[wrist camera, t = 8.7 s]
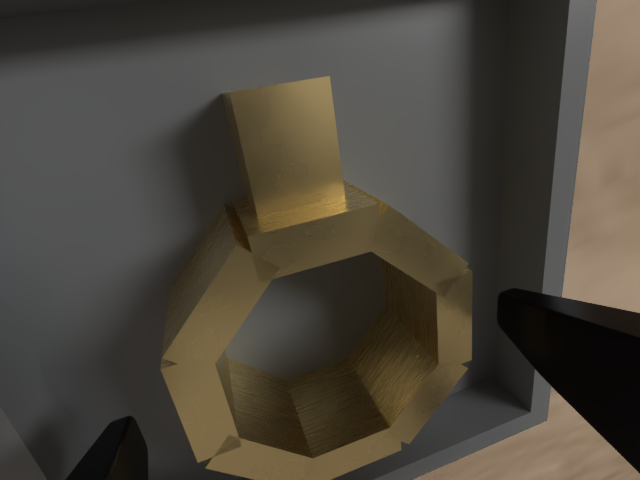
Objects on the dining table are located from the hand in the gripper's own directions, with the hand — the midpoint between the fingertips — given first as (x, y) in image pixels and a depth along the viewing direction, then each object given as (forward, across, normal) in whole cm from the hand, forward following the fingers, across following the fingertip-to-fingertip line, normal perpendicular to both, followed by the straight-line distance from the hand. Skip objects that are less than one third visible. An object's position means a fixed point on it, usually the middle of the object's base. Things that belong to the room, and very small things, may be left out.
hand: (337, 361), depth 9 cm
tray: (+4, 0, -1) cm, 4 cm away
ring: (+3, 0, -1) cm, 3 cm away
